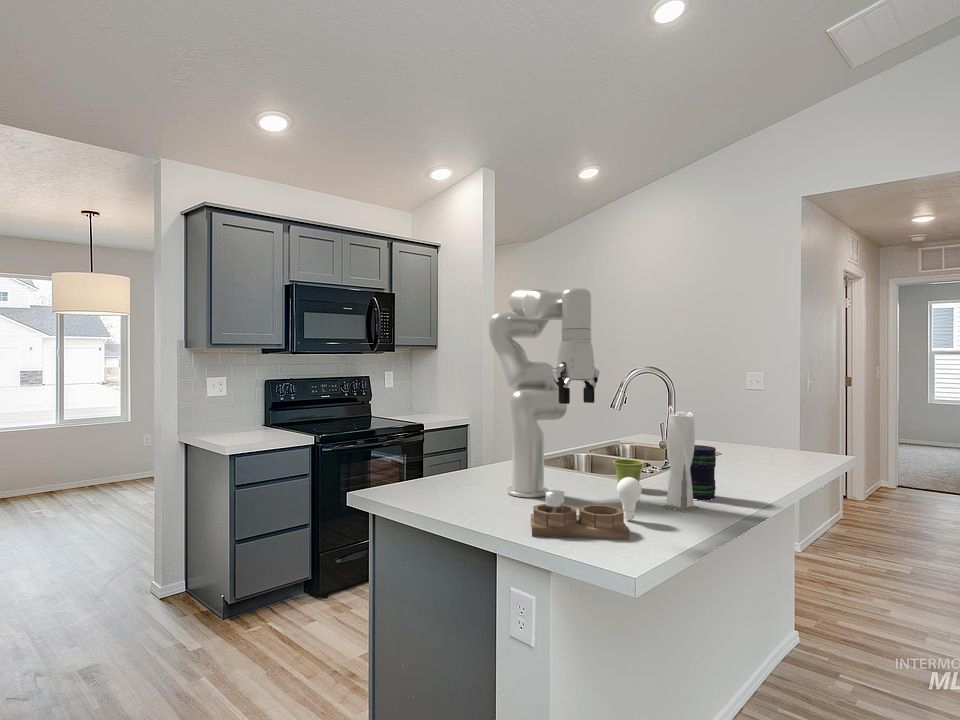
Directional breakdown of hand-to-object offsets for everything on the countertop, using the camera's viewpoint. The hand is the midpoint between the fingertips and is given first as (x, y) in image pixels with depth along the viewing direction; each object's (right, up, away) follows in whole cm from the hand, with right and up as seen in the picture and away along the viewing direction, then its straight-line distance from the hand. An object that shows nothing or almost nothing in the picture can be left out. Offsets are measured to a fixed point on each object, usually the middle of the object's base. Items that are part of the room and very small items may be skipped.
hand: (576, 403), depth 152 cm
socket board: (-2, -30, -11) cm, 32 cm away
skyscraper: (+31, -30, +13) cm, 45 cm away
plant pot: (+22, -30, +35) cm, 51 cm away
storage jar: (+40, -30, +25) cm, 56 cm away
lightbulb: (+13, -30, -2) cm, 33 cm away
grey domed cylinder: (-7, -28, -11) cm, 30 cm away
